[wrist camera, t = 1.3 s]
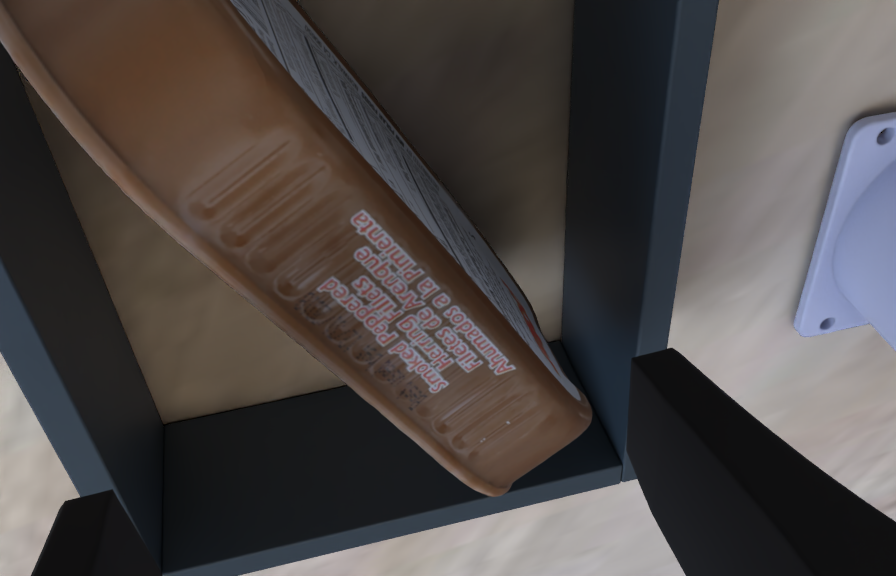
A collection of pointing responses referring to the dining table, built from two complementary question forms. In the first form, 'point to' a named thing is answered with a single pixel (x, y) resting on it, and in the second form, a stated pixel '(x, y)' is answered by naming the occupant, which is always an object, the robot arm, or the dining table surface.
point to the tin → (308, 212)
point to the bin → (342, 410)
